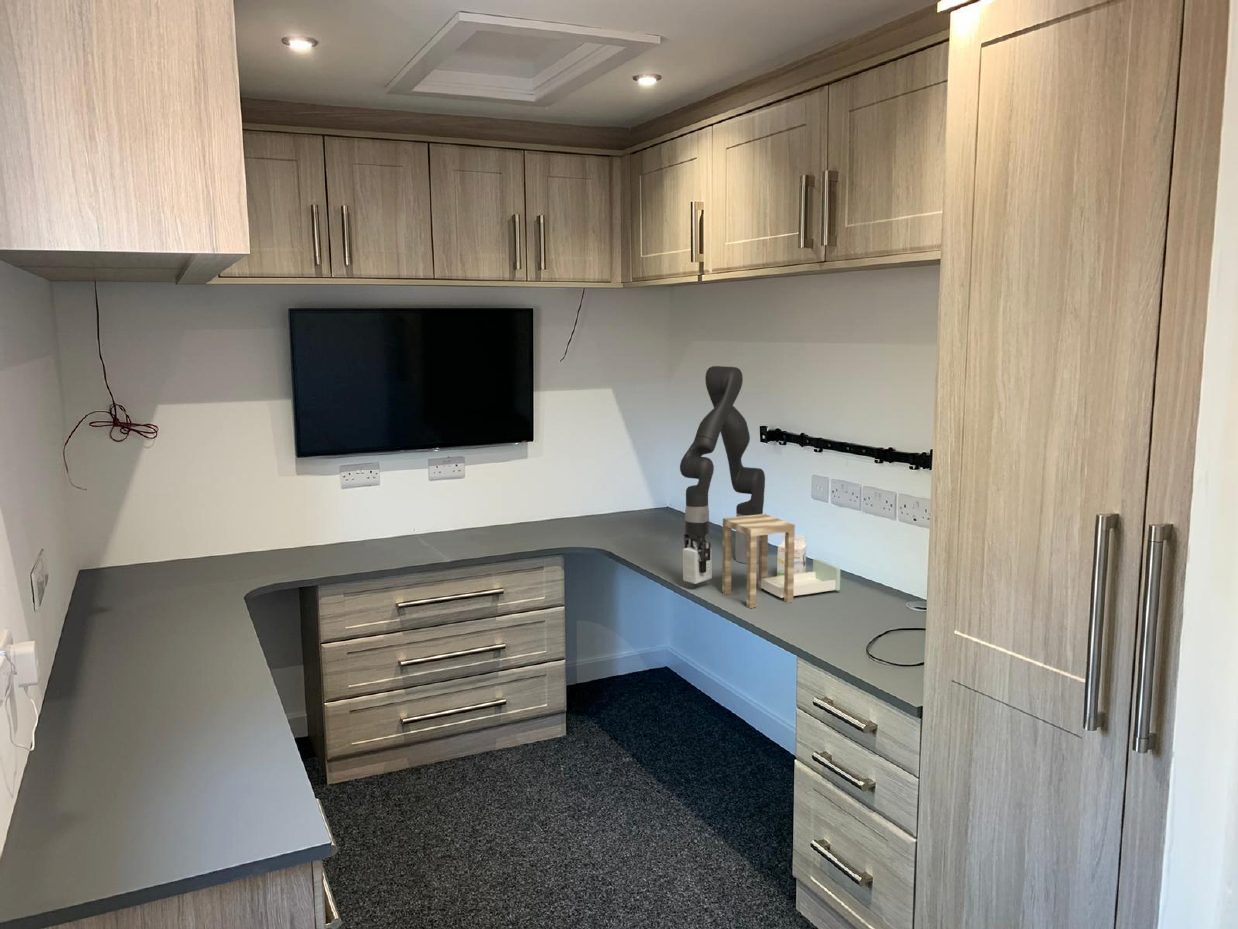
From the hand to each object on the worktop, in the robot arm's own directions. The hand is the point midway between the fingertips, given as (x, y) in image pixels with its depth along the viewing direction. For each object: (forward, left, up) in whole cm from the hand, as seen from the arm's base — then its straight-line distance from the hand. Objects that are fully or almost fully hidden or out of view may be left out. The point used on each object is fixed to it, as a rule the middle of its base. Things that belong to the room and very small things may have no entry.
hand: (697, 569), depth 297 cm
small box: (0, 0, -4) cm, 4 cm away
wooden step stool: (+17, +12, -6) cm, 22 cm away
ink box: (+5, +32, -6) cm, 33 cm away
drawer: (+17, +27, -5) cm, 32 cm away
